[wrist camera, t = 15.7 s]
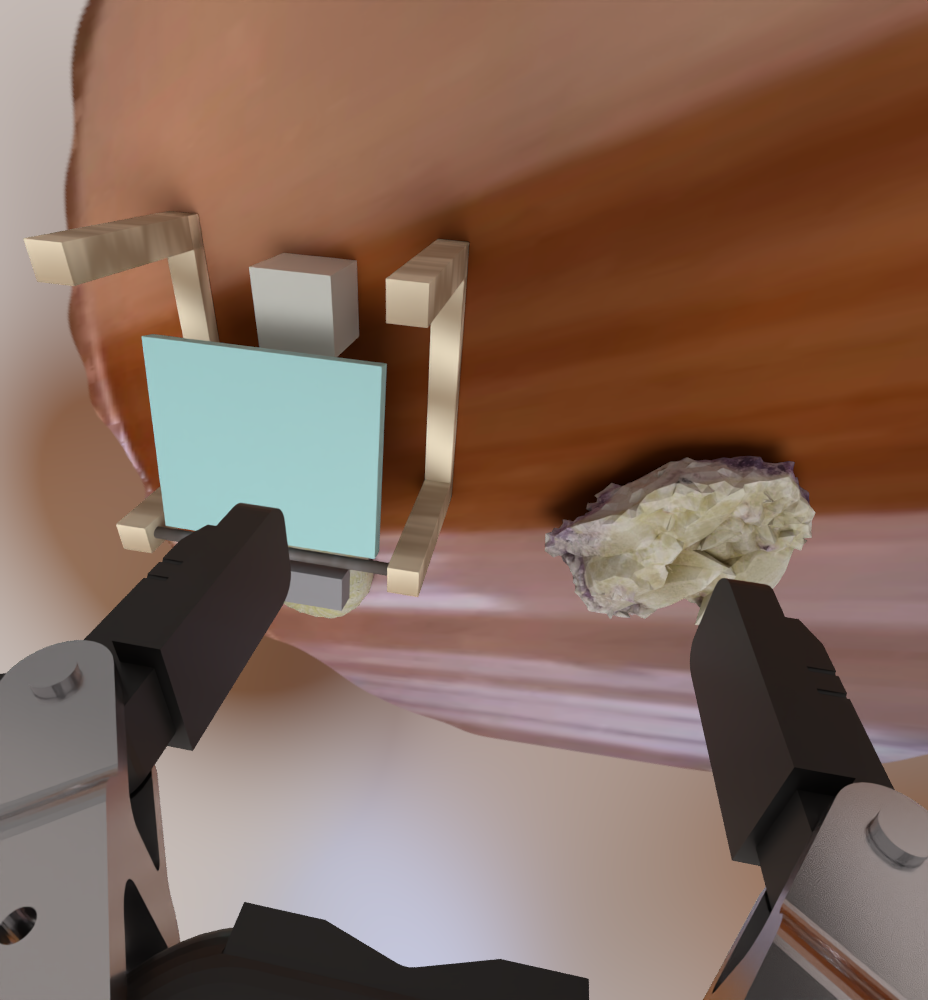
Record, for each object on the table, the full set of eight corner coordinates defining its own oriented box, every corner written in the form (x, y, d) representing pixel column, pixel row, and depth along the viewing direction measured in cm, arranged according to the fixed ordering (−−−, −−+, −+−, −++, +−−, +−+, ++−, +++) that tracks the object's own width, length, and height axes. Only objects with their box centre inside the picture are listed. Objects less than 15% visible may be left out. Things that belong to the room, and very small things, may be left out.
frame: (169, 211, 38) (23, 238, 28) (469, 242, 36) (429, 283, 26) (217, 462, 48) (123, 548, 38) (451, 496, 46) (418, 597, 36)
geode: (778, 489, 47) (674, 372, 41) (877, 541, 38) (766, 405, 32) (633, 633, 50) (515, 545, 43) (697, 712, 41) (562, 617, 35)
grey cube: (291, 327, 41) (284, 252, 38) (359, 335, 40) (357, 260, 37) (259, 349, 36) (248, 266, 34) (335, 359, 36) (330, 275, 33)
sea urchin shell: (246, 531, 49) (279, 573, 43) (330, 495, 53) (370, 529, 47) (278, 610, 54) (310, 658, 48) (352, 573, 57) (391, 613, 52)
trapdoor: (378, 602, 39) (371, 615, 37) (183, 570, 40) (169, 582, 38) (388, 362, 32) (380, 367, 31) (156, 333, 33) (137, 336, 32)
